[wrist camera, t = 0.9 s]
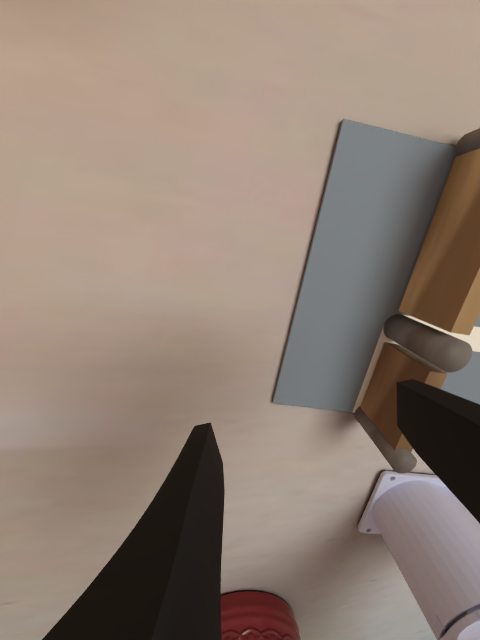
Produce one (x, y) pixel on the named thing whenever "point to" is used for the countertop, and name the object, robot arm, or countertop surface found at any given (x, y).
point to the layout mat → (365, 267)
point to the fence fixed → (402, 366)
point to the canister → (257, 617)
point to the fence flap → (451, 250)
